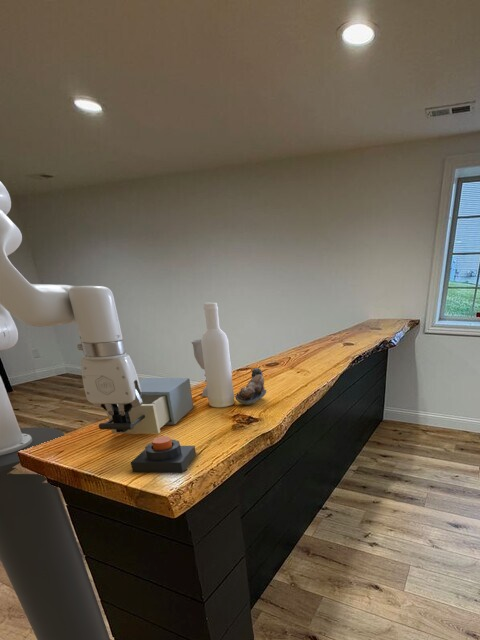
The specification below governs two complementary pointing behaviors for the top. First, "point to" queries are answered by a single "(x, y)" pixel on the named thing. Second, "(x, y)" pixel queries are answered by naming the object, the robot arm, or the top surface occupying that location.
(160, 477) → the top surface
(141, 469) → the control block
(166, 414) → the cream drawer
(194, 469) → the top surface
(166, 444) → the button
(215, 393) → the bottle
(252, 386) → the brown figurine on dish
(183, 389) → the drawer cabinet
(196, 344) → the chalice
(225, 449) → the top surface
